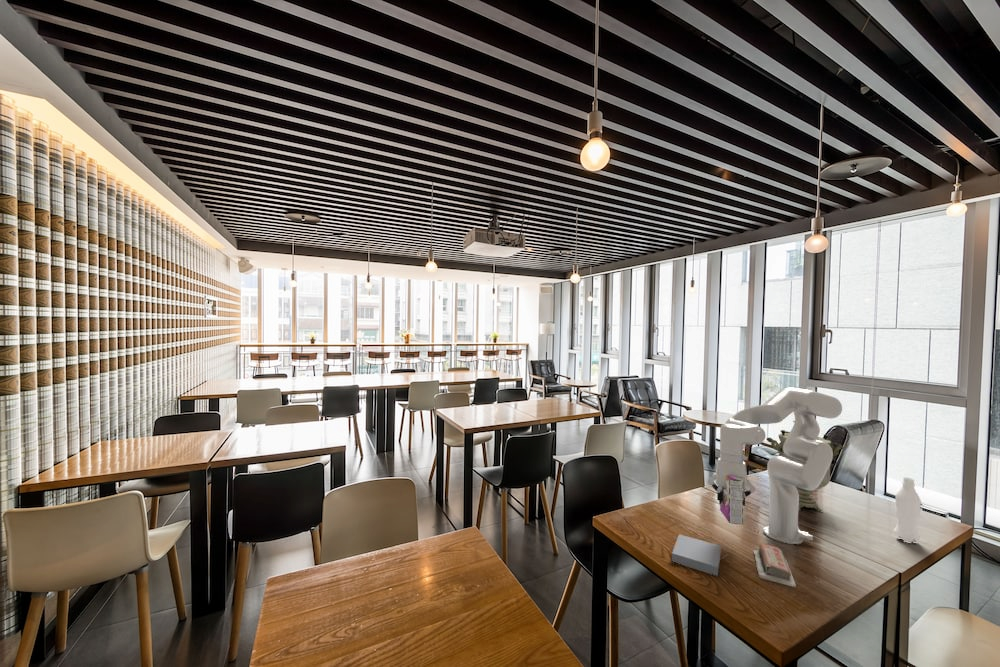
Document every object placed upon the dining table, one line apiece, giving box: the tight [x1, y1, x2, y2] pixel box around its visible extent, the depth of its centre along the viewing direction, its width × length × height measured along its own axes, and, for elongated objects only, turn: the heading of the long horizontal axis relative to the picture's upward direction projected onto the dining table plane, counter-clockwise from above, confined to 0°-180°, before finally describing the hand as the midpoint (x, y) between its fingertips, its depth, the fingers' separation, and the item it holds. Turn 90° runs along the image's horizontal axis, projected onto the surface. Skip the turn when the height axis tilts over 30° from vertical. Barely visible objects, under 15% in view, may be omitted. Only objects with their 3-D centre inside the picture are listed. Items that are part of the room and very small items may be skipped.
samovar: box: [765, 420, 845, 512], centre depth 185 cm, size 30×26×40 cm
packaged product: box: [752, 543, 797, 588], centre depth 134 cm, size 18×5×10 cm
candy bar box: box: [719, 476, 744, 525], centre depth 148 cm, size 11×5×16 cm, turn 167°
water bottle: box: [893, 476, 922, 543], centre depth 157 cm, size 7×7×25 cm
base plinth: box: [671, 533, 722, 577], centre depth 139 cm, size 14×16×3 cm
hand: (730, 504), depth 148 cm, fingers closed on candy bar box, 6 cm apart
